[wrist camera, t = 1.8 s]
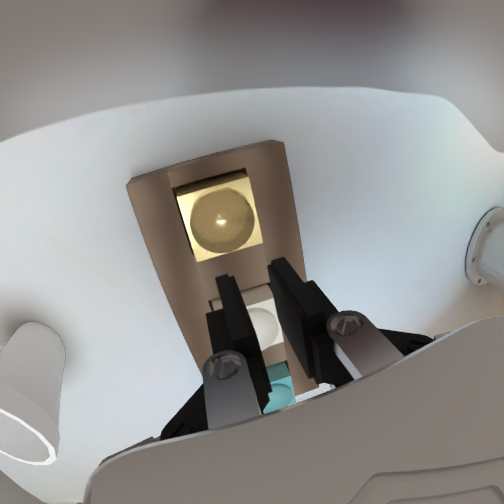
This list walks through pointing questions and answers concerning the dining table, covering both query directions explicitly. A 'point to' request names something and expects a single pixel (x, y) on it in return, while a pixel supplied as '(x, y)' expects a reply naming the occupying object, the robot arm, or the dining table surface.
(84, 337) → the dining table surface
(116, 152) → the dining table surface
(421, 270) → the dining table surface
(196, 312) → the button panel
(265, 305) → the cream button
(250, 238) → the brass button
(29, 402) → the foam cup
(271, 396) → the teal button
